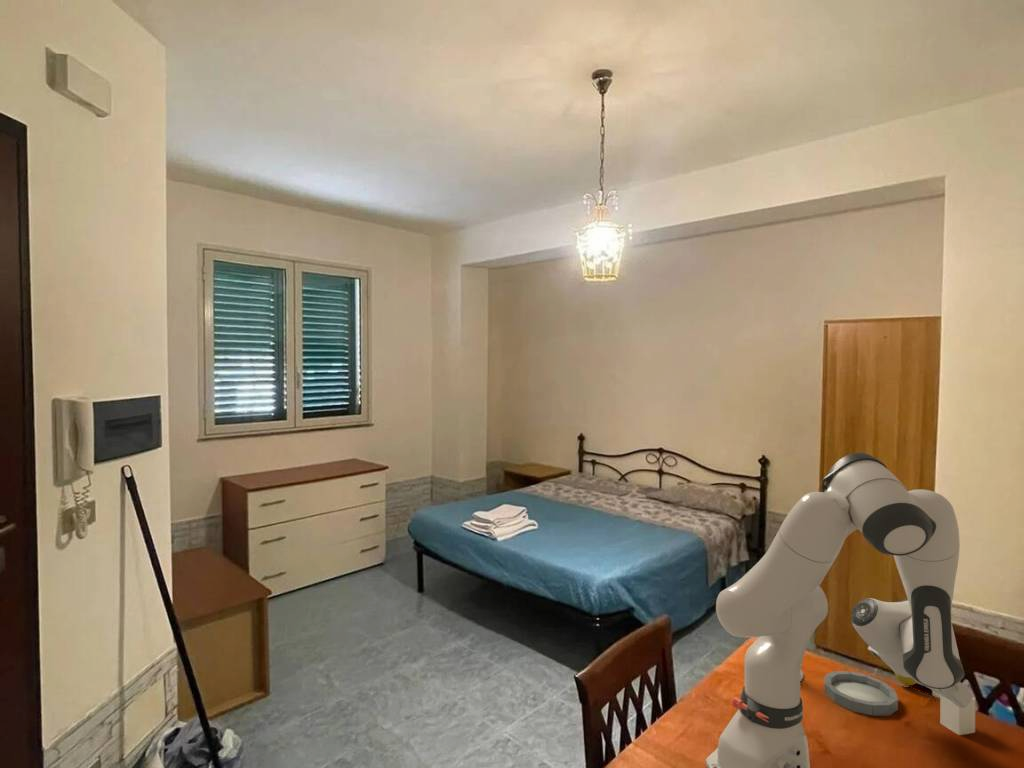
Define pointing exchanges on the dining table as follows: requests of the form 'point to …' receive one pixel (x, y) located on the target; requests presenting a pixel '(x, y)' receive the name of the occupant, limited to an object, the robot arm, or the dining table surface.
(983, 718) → the dining table surface
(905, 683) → the lemon
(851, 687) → the dish
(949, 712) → the block
